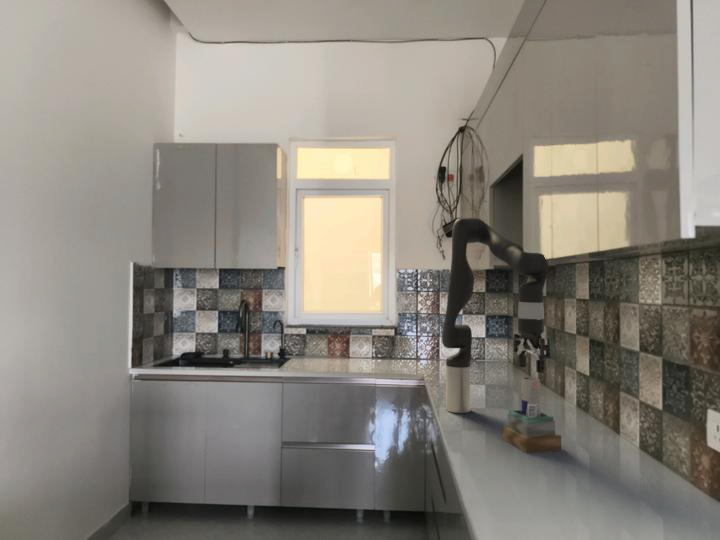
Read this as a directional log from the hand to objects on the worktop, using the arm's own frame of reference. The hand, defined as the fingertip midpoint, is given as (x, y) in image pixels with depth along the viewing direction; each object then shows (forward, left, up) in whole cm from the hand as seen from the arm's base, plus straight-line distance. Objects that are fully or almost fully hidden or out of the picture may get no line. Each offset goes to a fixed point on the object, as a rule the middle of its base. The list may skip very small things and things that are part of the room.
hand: (530, 369), depth 137 cm
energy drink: (0, 0, -15) cm, 15 cm away
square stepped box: (0, 0, -23) cm, 23 cm away
